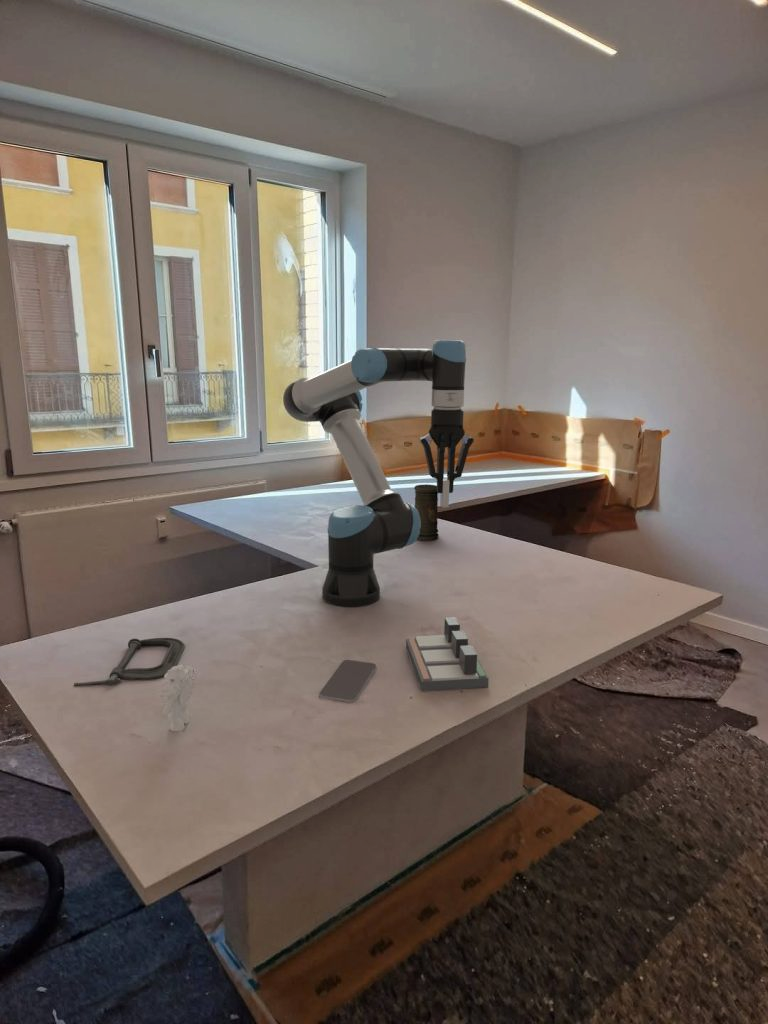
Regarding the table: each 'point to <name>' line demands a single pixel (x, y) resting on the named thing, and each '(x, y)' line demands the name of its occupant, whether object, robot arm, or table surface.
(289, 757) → the table surface
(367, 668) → the smartphone
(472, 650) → the block
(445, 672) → the panel
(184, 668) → the hat wearing toy figure
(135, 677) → the c clamp
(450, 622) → the block
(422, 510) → the container
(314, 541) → the table surface
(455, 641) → the block
